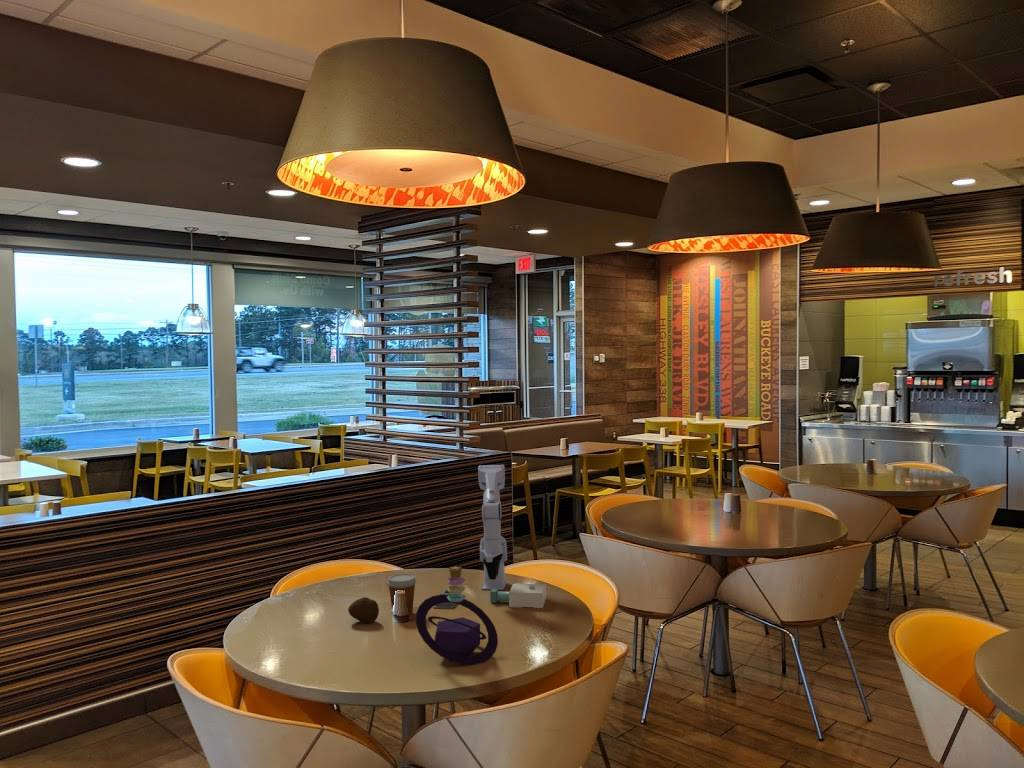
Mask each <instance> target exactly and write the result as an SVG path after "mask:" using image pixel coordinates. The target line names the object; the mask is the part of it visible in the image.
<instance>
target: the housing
mask: <svg viewBox="0 0 1024 768" xmlns="http://www.w3.org/2000/svg"><path fill="white" fill-rule="evenodd" d="M546 588H547V584H546V583H516V582H515V583H513V584H512V586H511V587H510V590H509V591H508V592H509V601H508V602H509V603H508V605H509V608H521V607H534V608H533V609H543V608H544V605H545V604H546V600H547V589H546Z"/></svg>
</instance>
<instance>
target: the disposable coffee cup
mask: <svg viewBox="0 0 1024 768" xmlns="http://www.w3.org/2000/svg"><path fill="white" fill-rule="evenodd" d="M416 582H417V579H416V576H415V574H414V575H413V574H410V573H397V574H396V573H395V574H394V575H393V574H392V575H391V576H389V577H388V578H387V582H386V583H387V586H388V591H389V596H390V601H391V608H392V609H391V610H392V611H393V605H394V595H395V591H397V590H403V591H404V590H405V593H406V599H407V608H408V613H409V615H408V616H411V615H412V614H413V610H414V601H415V600H414V597H415V589H416V588H415V586H416Z"/></svg>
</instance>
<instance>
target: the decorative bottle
mask: <svg viewBox="0 0 1024 768" xmlns="http://www.w3.org/2000/svg"><path fill="white" fill-rule="evenodd" d="M462 569H463V568H462V567H461V566H452V567H451V566H450V567H449V568H448V571H449V578H447V579H446V582H447V583H448V584H449V586H447V587H446V589H447V590H448V591H449V593H450V594H452V595H440V594H437V595H432V596H430V597H428V598H426V599H424V600H423V601H422V602H421V603H420V604H419V606H418V608H417V610H416V613H415V625H416V627H417V631H418V633H419V635H420V637H421V639H422V641H424V643H425V645H427V647H429V648H430V650H432V651H433V652H434V653H436V654H437V655H438V656H439V657H441V658H443V659H446V660H448V661H449V662H452V663H456V664H460V665H466V666H467V665H468V666H470V665H472V666H475V665H478V664H479V665H480V664H483V663H485V662H487V661H489V660H490V659H491V658H492V657H493V655H494V654H495V653H496V651H497V648H498V645H499V639H498V632H497V629H496V627H495V624H494V623H493V622H492V620H491V619H490V617H489V616H488V615H487V614H486V612H485V611H483V609H481V608H480V607H479V606H477V605H476V604H475V603H473V602H472V601H469V600H467V599H466V597H467V596H466V595H465V594H463V592H464V591H465V590H466V587H465V586H464V585H463V586H462V585H461V584H463V583H464V582H465V581H466V578H464V577H462ZM454 589H456V590H454ZM457 593H460V594H457ZM445 602H446V603H455V605H459V606H461V607H464V608H466V609H468V610H470V611H471V612H472V613H474V614H475V616H477V617H478V619H480V620H481V622H482V623H483V625H484V626H485V629H486V632H487V635H486V634H485V633H483V631H481V623H480V622H477V621H473V620H471V619H469V618H466V617H464V616H462V617H457V618H451V619H450V618H447V617H443V616H442V617H441V616H435V615H434V616H433V615H432V616H428V614H429V611H430V610H431V609H433V607H434V606H435V605H437V604H440V603H445ZM453 613H454V616H455V614H456V613H455V612H453ZM469 613H470V612H468V614H469ZM427 616H428V617H427ZM435 619H436V620H439V621H437V623H436V622H434V620H435ZM427 621H428V622H430V623H431V624H432V625H434V626H435V627H436V629H435V635H434V638H433V637H432V635H431V634H430V632H429V631H428V627H427ZM486 639H487V643H486V645H485V647H484V648H483V649H482V650H481V651H480V652H478V653H477V654H473V653H474V652H475V651H476V649H477V648H478V647H479V646H480V645H481V641H483V640H486Z"/></svg>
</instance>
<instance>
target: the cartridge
mask: <svg viewBox="0 0 1024 768" xmlns="http://www.w3.org/2000/svg"><path fill="white" fill-rule="evenodd" d="M489 593H490V594H489V599H490V600H489V601H490V602H489V603H492V604H493V603H495V604H497V602H509V591H503V590H502V591H501V590H498V589H490V592H489Z"/></svg>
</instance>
